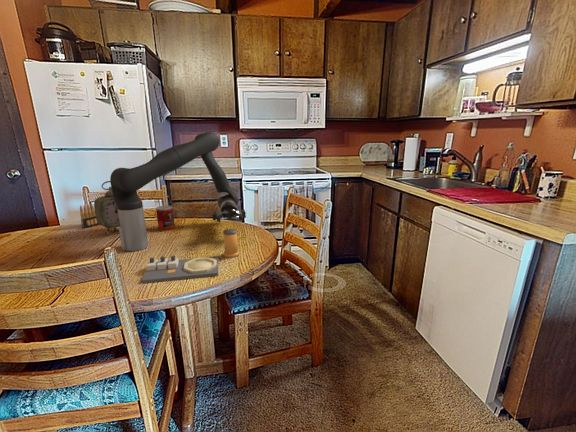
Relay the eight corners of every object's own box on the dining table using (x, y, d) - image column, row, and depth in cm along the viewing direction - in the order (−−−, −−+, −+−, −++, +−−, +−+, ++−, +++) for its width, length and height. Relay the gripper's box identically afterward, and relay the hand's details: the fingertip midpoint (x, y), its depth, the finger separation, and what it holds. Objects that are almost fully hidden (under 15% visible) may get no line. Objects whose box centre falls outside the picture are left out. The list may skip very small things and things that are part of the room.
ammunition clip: (84, 228, 150) (79, 205, 147) (82, 228, 151) (77, 205, 148) (105, 223, 159) (101, 201, 156) (103, 222, 160) (99, 201, 157)
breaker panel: (141, 283, 95) (139, 271, 94) (151, 264, 109) (149, 254, 107) (218, 275, 100) (217, 264, 99) (218, 258, 113) (217, 248, 112)
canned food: (165, 231, 145) (162, 209, 142) (155, 229, 149) (152, 207, 146) (178, 227, 152) (175, 206, 149) (168, 225, 156) (165, 204, 153)
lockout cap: (223, 258, 114) (222, 233, 111) (223, 252, 119) (222, 229, 117) (239, 257, 115) (238, 232, 112) (238, 251, 121) (237, 227, 118)
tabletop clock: (105, 237, 138) (95, 183, 131) (97, 233, 143) (87, 182, 136) (136, 229, 149) (128, 179, 142) (127, 226, 154) (120, 178, 147)
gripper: (212, 202, 138) (211, 212, 122) (243, 200, 140) (246, 209, 125) (214, 218, 140) (213, 229, 125) (244, 216, 143) (247, 226, 127)
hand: (229, 219), depth 125 cm, fingers open, 8 cm apart
